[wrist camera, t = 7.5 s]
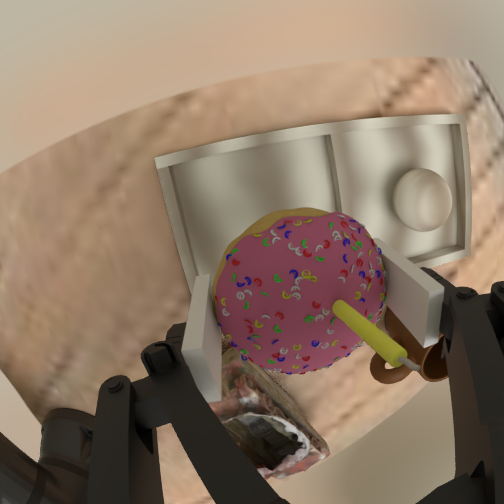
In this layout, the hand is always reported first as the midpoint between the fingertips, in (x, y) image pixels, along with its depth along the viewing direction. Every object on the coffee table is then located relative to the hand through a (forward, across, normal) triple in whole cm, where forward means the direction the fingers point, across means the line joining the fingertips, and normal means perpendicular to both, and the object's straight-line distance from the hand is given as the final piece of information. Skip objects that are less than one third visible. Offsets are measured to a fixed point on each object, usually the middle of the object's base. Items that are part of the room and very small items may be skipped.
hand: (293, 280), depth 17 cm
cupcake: (+3, 0, 0) cm, 3 cm away
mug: (+14, +13, -15) cm, 25 cm away
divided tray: (+14, +7, 0) cm, 16 cm away
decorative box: (+14, -4, -22) cm, 26 cm away
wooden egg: (+13, +15, 0) cm, 20 cm away
